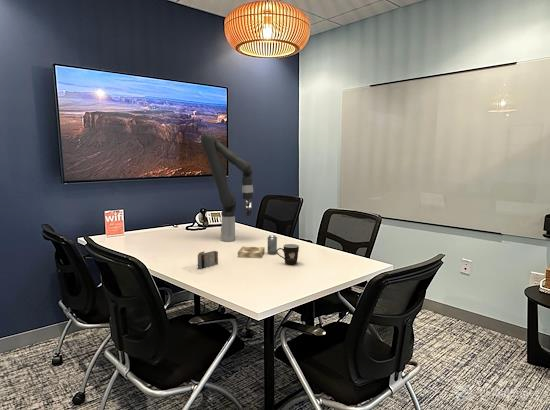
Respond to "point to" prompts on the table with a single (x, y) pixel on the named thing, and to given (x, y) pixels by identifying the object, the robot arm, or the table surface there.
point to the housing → (272, 245)
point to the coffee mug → (290, 253)
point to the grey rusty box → (207, 259)
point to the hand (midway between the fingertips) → (249, 215)
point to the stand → (251, 252)
